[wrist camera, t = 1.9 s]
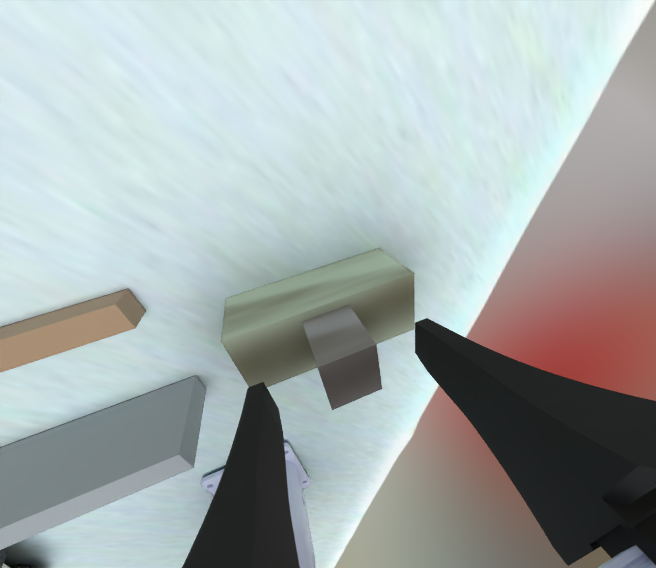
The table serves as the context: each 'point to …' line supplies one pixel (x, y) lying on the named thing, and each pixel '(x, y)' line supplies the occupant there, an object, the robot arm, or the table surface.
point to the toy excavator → (0, 559)
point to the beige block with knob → (322, 324)
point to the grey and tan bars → (91, 428)
